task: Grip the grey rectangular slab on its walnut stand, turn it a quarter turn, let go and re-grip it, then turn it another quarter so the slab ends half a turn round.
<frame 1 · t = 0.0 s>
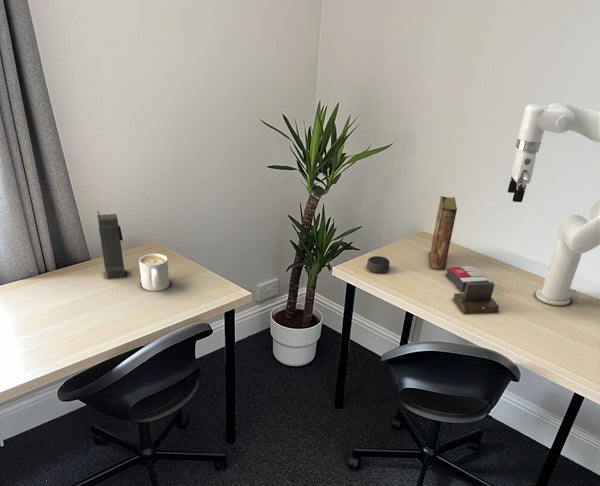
hand: (514, 197, 212), 37 cm above the table, tool pointing down, fingers open, 9 cm apart
coffee mug: (155, 287, 224), on the table
red and grey box: (466, 283, 240), on the table
portable radio: (116, 274, 230), on the table
grey rectangular slab: (478, 291, 220), point 6 cm above the table, hinge at 0.0°
smart speaker: (377, 269, 246), on the table
book: (437, 262, 255), on the table
rack stand: (475, 305, 224), on the table
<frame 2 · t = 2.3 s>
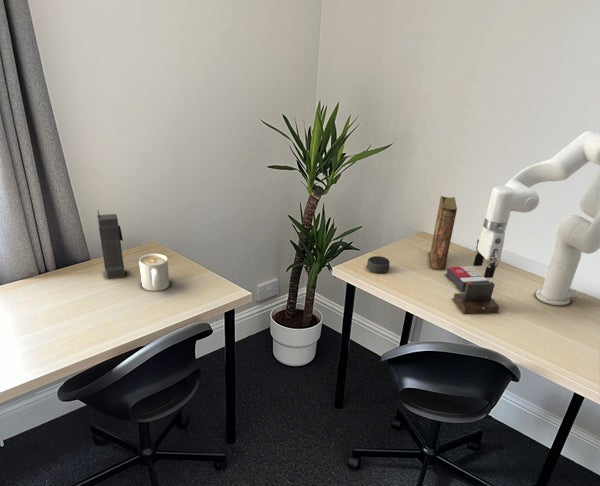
hand: (482, 271, 216), 14 cm above the table, tool pointing down, fingers open, 9 cm apart
nothing on the table moved.
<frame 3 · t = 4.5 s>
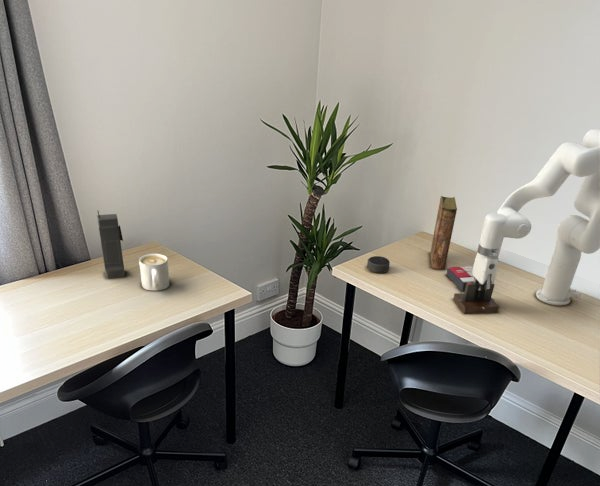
hand: (477, 297, 222), 3 cm above the table, tool pointing down, fingers closed on grey rectangular slab, 2 cm apart
grey rectangular slab: (478, 291, 220), point 6 cm above the table, hinge at 0.0°, touching gripper
everything else where it was.
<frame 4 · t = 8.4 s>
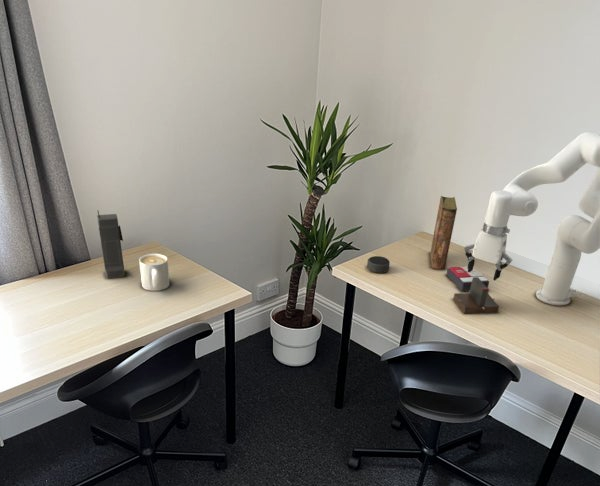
hand: (482, 275, 217), 12 cm above the table, tool pointing down, fingers open, 9 cm apart
grey rectangular slab: (478, 291, 220), point 6 cm above the table, hinge at 89.3°
everything else where it was.
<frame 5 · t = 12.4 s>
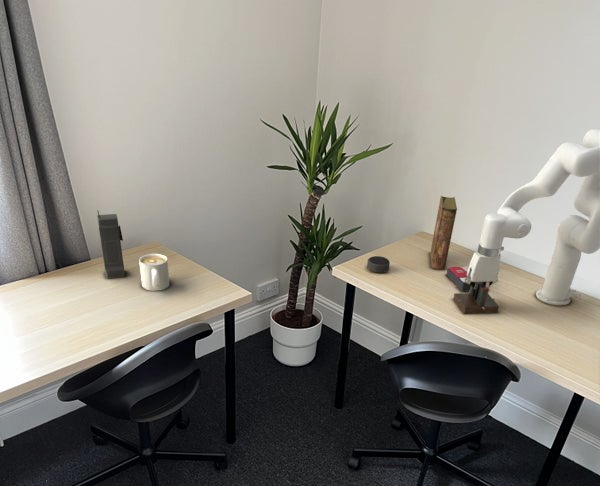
hand: (477, 297, 222), 3 cm above the table, tool pointing down, fingers closed on grey rectangular slab, 2 cm apart
grey rectangular slab: (478, 291, 220), point 6 cm above the table, hinge at 89.9°, touching gripper
everything else where it was.
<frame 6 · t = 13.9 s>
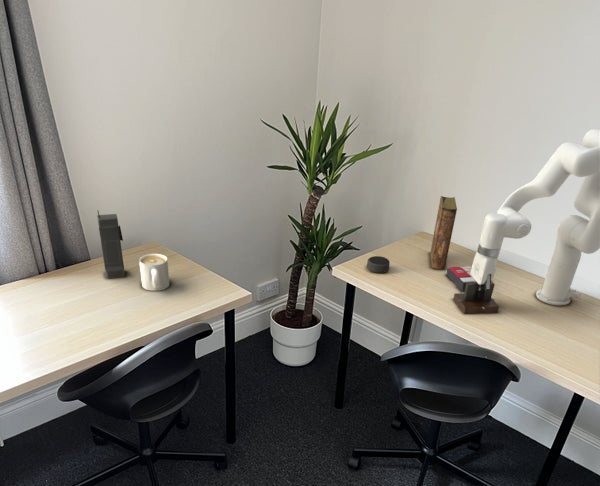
hand: (477, 297, 222), 3 cm above the table, tool pointing down, fingers closed on grey rectangular slab, 2 cm apart
grey rectangular slab: (478, 291, 220), point 6 cm above the table, hinge at 179.4°, touching gripper
everything else where it was.
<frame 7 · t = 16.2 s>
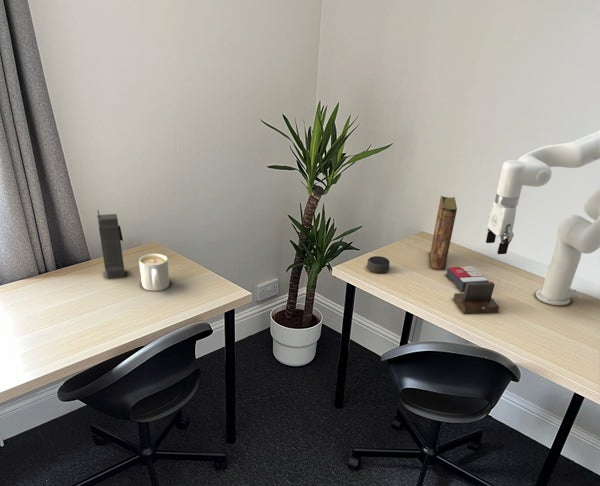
hand: (495, 248, 214), 21 cm above the table, tool pointing down, fingers open, 9 cm apart
grey rectangular slab: (478, 291, 220), point 6 cm above the table, hinge at 179.4°
everything else where it was.
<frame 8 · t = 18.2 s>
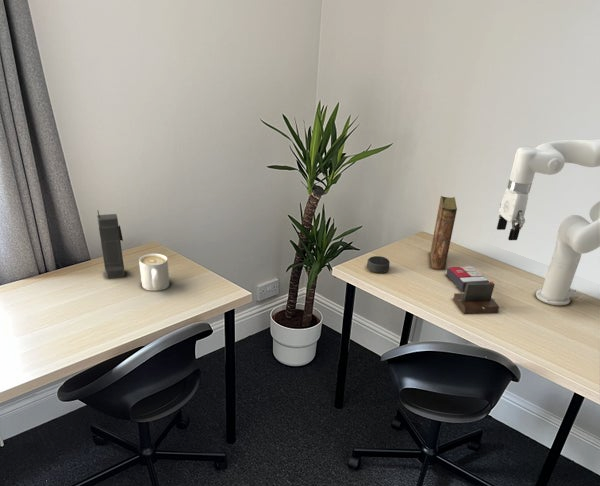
hand: (506, 234, 217), 24 cm above the table, tool pointing down, fingers open, 9 cm apart
nothing on the table moved.
at the end: grey rectangular slab reached +179° during the clip, +179° at the end; grey rectangular slab at +179° (first picture: +0°) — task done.
